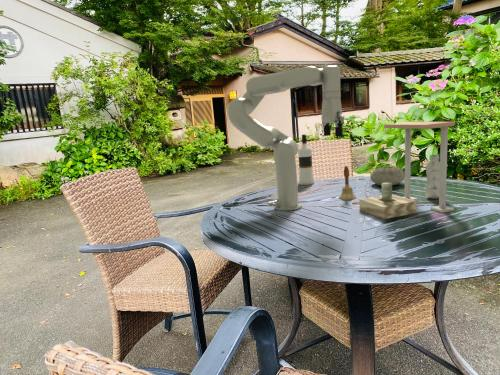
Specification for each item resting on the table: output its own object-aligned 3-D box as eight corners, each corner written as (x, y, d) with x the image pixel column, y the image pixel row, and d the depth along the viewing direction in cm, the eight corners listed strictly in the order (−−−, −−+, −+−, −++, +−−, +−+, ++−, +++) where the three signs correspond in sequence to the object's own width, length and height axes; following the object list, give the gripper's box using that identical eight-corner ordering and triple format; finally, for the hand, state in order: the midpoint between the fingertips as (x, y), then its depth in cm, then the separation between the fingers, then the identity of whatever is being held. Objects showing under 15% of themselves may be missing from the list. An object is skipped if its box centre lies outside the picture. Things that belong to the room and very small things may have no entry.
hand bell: (352, 200, 176) (351, 167, 173) (336, 199, 181) (335, 167, 178) (358, 196, 182) (358, 165, 179) (342, 195, 187) (342, 164, 184)
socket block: (383, 219, 144) (383, 207, 143) (359, 210, 159) (359, 199, 158) (416, 212, 148) (416, 201, 147) (390, 204, 163) (390, 193, 162)
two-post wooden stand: (426, 215, 144) (427, 124, 137) (383, 202, 168) (382, 124, 161) (454, 210, 148) (457, 121, 141) (408, 197, 172) (408, 121, 165)
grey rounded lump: (364, 184, 210) (364, 166, 208) (390, 180, 215) (390, 163, 213) (384, 189, 193) (384, 170, 191) (412, 185, 198) (412, 166, 196)
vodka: (296, 183, 226) (294, 134, 220) (310, 181, 228) (308, 133, 222) (302, 186, 217) (299, 135, 211) (316, 184, 219) (314, 134, 213)
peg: (386, 210, 151) (386, 184, 149) (379, 208, 155) (379, 183, 153) (394, 209, 152) (394, 183, 150) (387, 207, 156) (387, 182, 154)
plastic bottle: (443, 199, 164) (444, 155, 160) (427, 200, 166) (428, 156, 162) (439, 196, 170) (440, 153, 166) (423, 196, 172) (424, 154, 168)
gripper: (314, 97, 164) (315, 136, 167) (334, 95, 147) (335, 137, 151) (329, 96, 166) (330, 134, 169) (350, 94, 150) (351, 136, 153)
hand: (332, 136), depth 160 cm, fingers open, 9 cm apart
